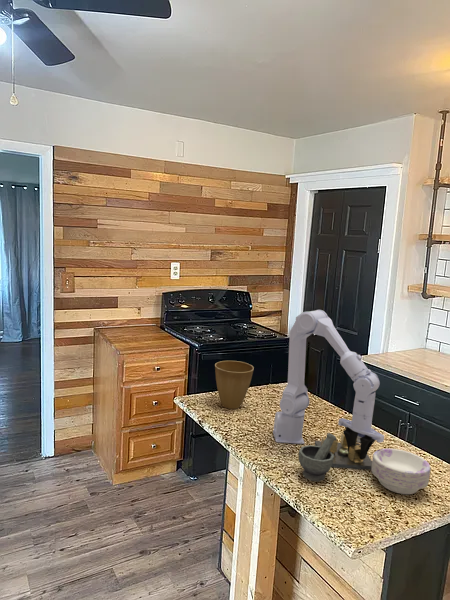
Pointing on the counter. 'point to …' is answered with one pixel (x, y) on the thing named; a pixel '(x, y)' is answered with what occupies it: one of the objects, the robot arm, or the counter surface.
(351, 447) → the knob near
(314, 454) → the mortar and pestle
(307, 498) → the counter surface
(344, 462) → the base plate
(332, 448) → the knob left
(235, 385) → the plant pot
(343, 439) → the knob far
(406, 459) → the paper bowls
